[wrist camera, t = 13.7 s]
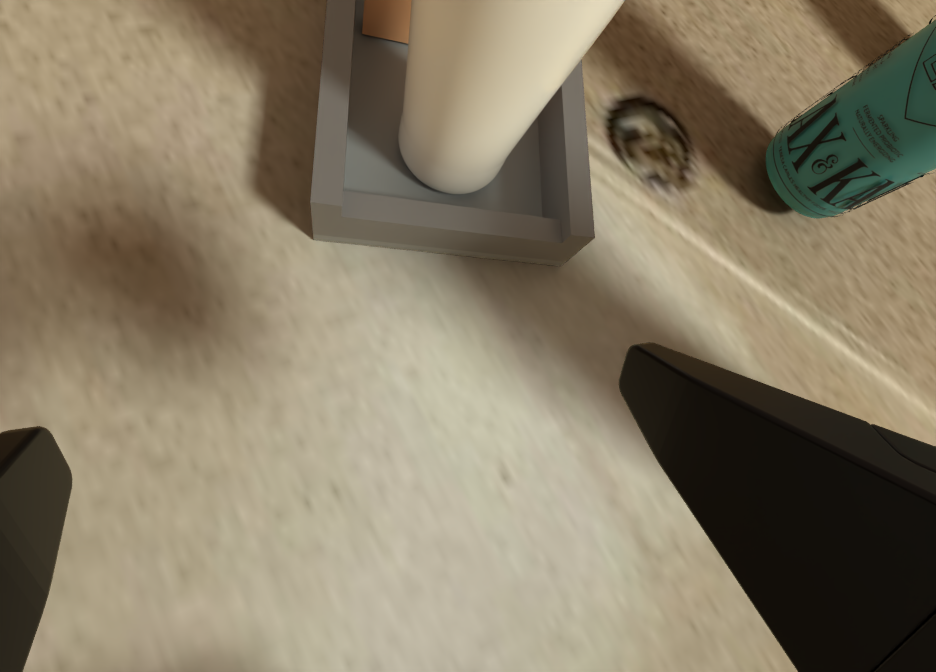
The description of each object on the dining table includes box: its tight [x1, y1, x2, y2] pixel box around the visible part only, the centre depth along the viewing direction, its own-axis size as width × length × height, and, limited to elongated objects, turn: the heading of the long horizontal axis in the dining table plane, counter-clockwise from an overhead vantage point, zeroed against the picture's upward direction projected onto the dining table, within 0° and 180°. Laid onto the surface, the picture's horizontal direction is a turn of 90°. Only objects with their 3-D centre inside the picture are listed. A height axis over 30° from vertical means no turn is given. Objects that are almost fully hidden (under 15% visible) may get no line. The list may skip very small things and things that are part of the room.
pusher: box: [362, 0, 411, 44], centre depth 23 cm, size 1×9×5 cm, turn 90°
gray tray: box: [310, 0, 595, 266], centre depth 23 cm, size 18×12×6 cm
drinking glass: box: [398, 0, 625, 194], centre depth 17 cm, size 7×7×15 cm
